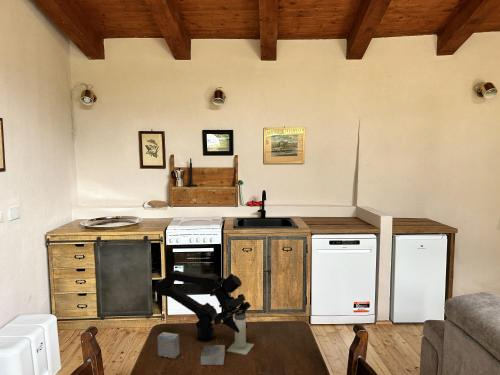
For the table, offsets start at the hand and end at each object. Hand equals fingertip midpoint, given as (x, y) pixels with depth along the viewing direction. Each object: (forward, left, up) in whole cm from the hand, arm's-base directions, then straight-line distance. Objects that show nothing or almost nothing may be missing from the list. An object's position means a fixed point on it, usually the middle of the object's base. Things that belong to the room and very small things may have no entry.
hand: (242, 330), depth 154 cm
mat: (-1, 0, -8) cm, 8 cm away
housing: (-8, -12, -8) cm, 16 cm away
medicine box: (-27, -16, -9) cm, 33 cm away
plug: (-1, 0, -7) cm, 7 cm away
